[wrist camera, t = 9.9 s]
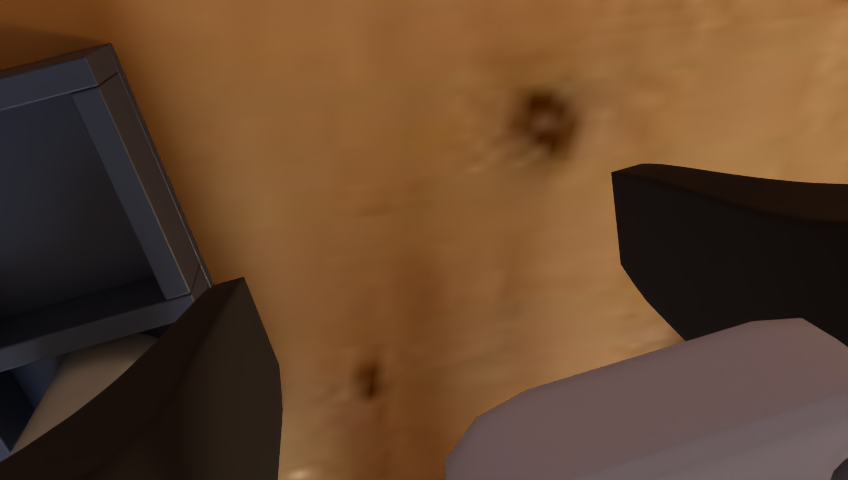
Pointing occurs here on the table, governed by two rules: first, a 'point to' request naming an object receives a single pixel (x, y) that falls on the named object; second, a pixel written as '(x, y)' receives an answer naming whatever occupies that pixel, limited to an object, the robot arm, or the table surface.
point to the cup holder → (81, 225)
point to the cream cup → (82, 382)
